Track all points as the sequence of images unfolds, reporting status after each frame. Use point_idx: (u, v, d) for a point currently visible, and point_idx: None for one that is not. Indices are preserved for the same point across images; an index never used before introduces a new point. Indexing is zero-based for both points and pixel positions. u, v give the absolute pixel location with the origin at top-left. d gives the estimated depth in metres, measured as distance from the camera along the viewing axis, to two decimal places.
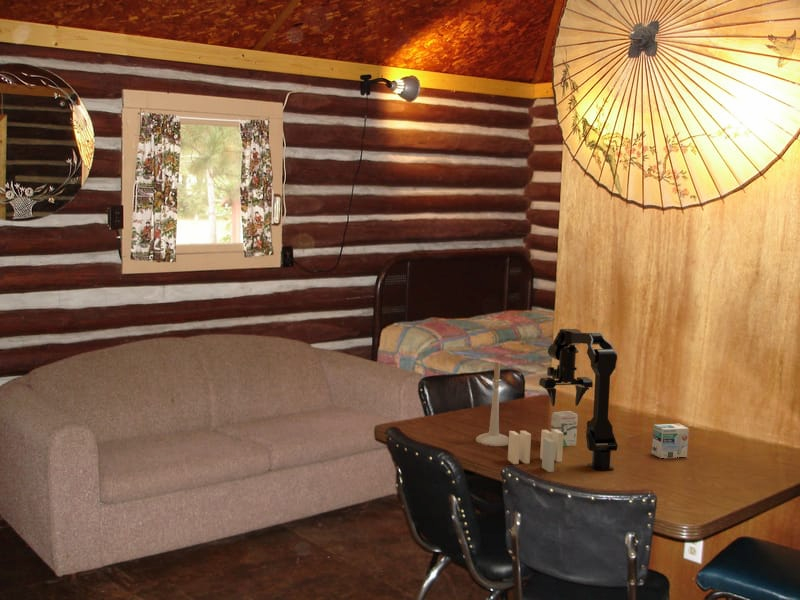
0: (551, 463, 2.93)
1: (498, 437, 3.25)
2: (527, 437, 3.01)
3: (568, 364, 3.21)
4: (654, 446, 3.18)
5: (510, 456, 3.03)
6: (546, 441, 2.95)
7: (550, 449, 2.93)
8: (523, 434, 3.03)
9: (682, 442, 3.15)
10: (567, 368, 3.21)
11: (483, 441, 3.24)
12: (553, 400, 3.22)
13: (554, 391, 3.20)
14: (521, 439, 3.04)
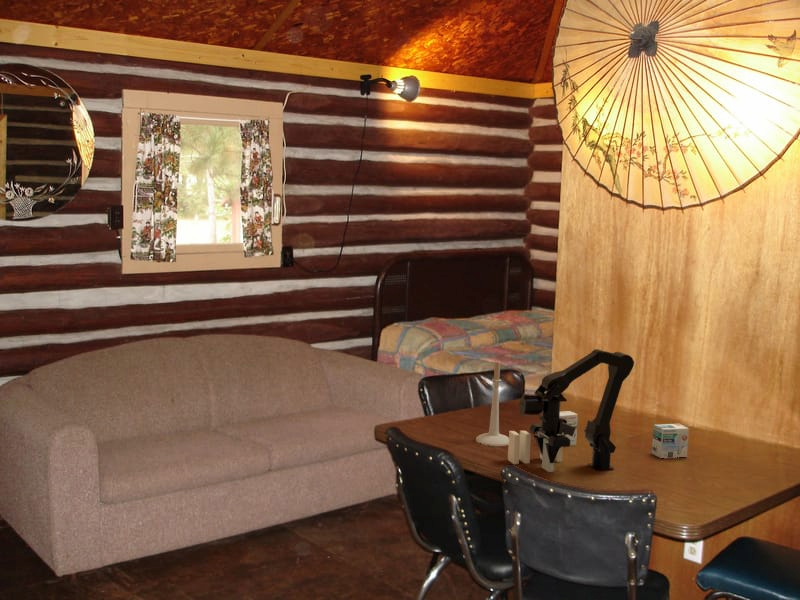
0: (551, 463, 2.93)
1: (498, 437, 3.25)
2: (527, 437, 3.01)
3: (542, 413, 2.94)
4: (654, 446, 3.18)
5: (510, 456, 3.03)
6: (546, 441, 2.95)
7: None
8: (523, 434, 3.03)
9: (682, 442, 3.15)
10: (541, 417, 2.94)
11: (483, 441, 3.24)
12: (540, 451, 2.98)
13: (536, 440, 2.98)
14: (521, 439, 3.04)
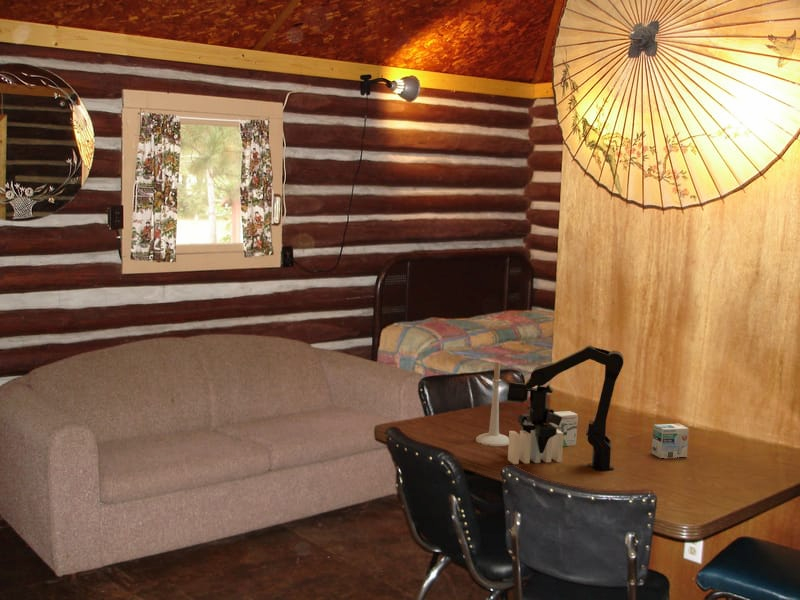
0: (538, 454, 3.03)
1: (498, 437, 3.25)
2: (527, 437, 3.01)
3: None
4: (654, 446, 3.18)
5: (510, 456, 3.03)
6: (533, 433, 3.04)
7: None
8: (523, 434, 3.03)
9: (682, 442, 3.15)
10: (528, 407, 3.04)
11: (483, 441, 3.24)
12: None
13: (522, 428, 3.09)
14: (521, 439, 3.04)
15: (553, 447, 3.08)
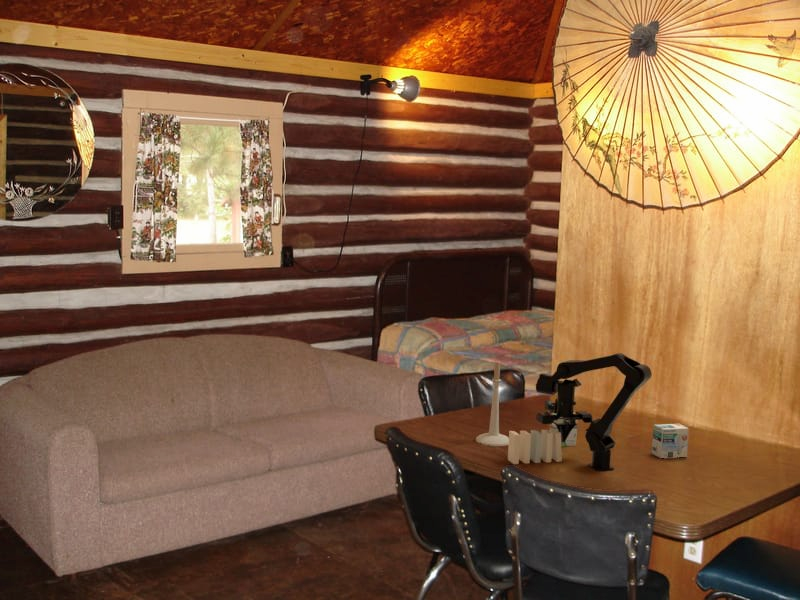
0: (538, 454, 3.03)
1: (498, 437, 3.25)
2: (527, 437, 3.01)
3: (567, 398, 3.03)
4: (654, 446, 3.18)
5: (510, 456, 3.03)
6: (533, 433, 3.04)
7: (537, 441, 3.02)
8: (523, 434, 3.03)
9: (682, 442, 3.15)
10: (566, 403, 3.03)
11: (483, 441, 3.24)
12: (563, 436, 3.06)
13: (564, 427, 3.04)
14: (521, 439, 3.04)
15: None
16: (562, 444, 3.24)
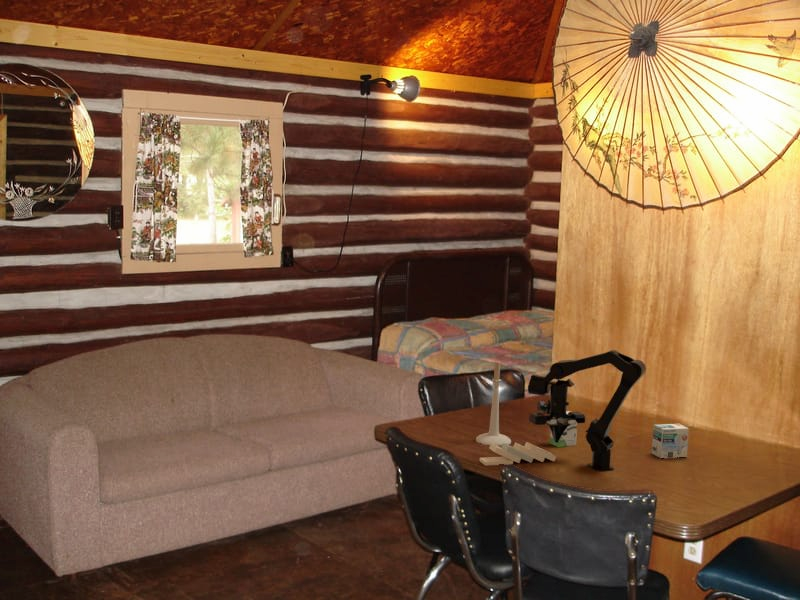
0: (525, 457, 3.02)
1: (498, 437, 3.25)
2: (497, 452, 2.99)
3: (560, 399, 3.02)
4: (654, 446, 3.18)
5: None
6: (504, 449, 3.03)
7: (512, 453, 3.01)
8: (493, 451, 3.01)
9: (682, 442, 3.15)
10: (559, 403, 3.02)
11: (483, 441, 3.24)
12: (556, 436, 3.05)
13: (557, 427, 3.03)
14: None
15: None
16: (562, 444, 3.24)
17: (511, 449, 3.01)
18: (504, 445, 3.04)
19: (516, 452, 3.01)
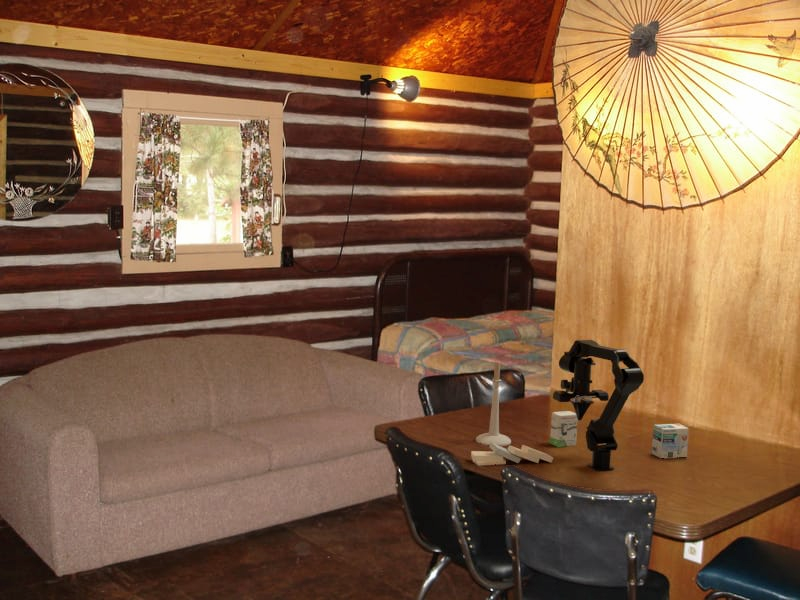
0: (512, 457, 3.00)
1: (498, 437, 3.25)
2: (476, 459, 2.99)
3: (583, 377, 3.06)
4: (654, 446, 3.18)
5: None
6: None
7: (500, 454, 2.99)
8: None
9: (682, 442, 3.15)
10: (582, 381, 3.06)
11: (483, 441, 3.24)
12: (579, 414, 3.09)
13: (580, 405, 3.07)
14: None
15: None
16: (562, 444, 3.24)
17: (499, 450, 2.98)
18: (492, 445, 3.01)
19: (504, 453, 2.99)
